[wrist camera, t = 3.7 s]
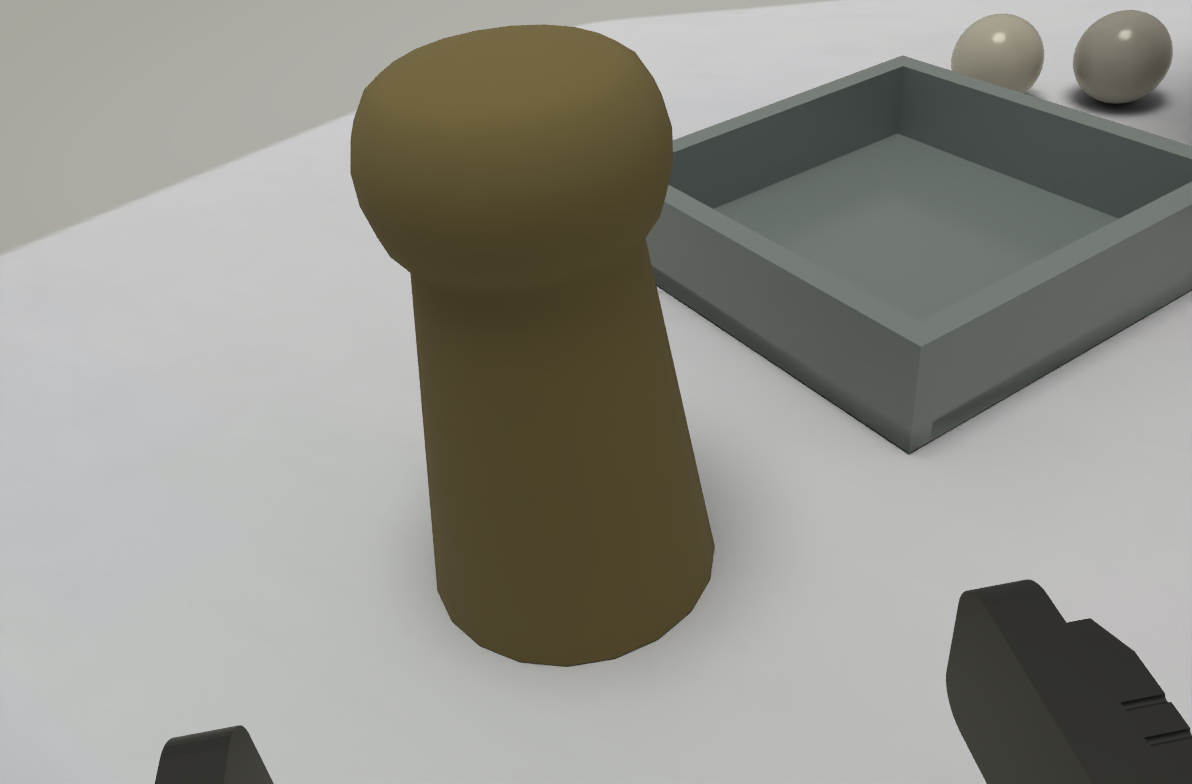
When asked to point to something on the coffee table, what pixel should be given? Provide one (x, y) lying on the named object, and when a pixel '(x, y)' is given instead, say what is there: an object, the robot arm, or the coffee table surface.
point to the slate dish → (923, 239)
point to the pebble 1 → (1000, 52)
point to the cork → (540, 335)
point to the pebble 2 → (1122, 56)
